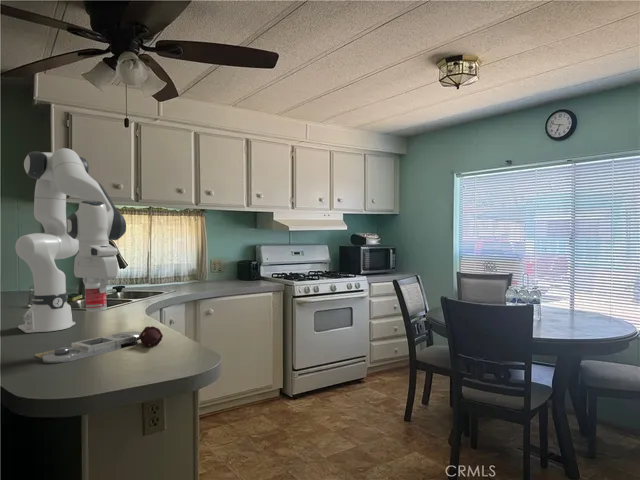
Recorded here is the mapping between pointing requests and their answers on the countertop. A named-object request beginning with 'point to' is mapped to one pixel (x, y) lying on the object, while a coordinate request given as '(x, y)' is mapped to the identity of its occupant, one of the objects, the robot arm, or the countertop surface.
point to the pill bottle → (94, 296)
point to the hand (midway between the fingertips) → (95, 292)
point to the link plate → (42, 353)
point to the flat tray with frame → (91, 347)
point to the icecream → (151, 336)
